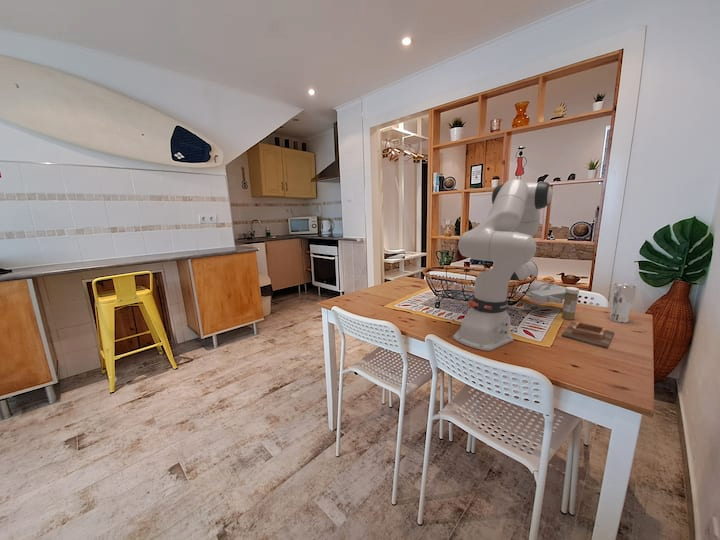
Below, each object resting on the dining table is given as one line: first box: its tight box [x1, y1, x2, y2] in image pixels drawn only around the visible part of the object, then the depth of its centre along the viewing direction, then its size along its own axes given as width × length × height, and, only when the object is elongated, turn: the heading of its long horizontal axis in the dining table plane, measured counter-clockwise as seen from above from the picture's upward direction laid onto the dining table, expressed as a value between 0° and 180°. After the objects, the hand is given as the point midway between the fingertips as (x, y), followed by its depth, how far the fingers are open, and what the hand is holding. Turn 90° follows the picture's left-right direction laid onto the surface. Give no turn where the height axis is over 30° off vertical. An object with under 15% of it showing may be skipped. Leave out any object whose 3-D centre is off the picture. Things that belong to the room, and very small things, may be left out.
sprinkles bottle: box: [561, 286, 580, 321], centre depth 119 cm, size 5×5×14 cm
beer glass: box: [608, 282, 637, 324], centre depth 116 cm, size 7×7×15 cm
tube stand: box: [561, 321, 615, 349], centre depth 104 cm, size 16×13×3 cm
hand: (569, 300), depth 119 cm, fingers open, 8 cm apart
